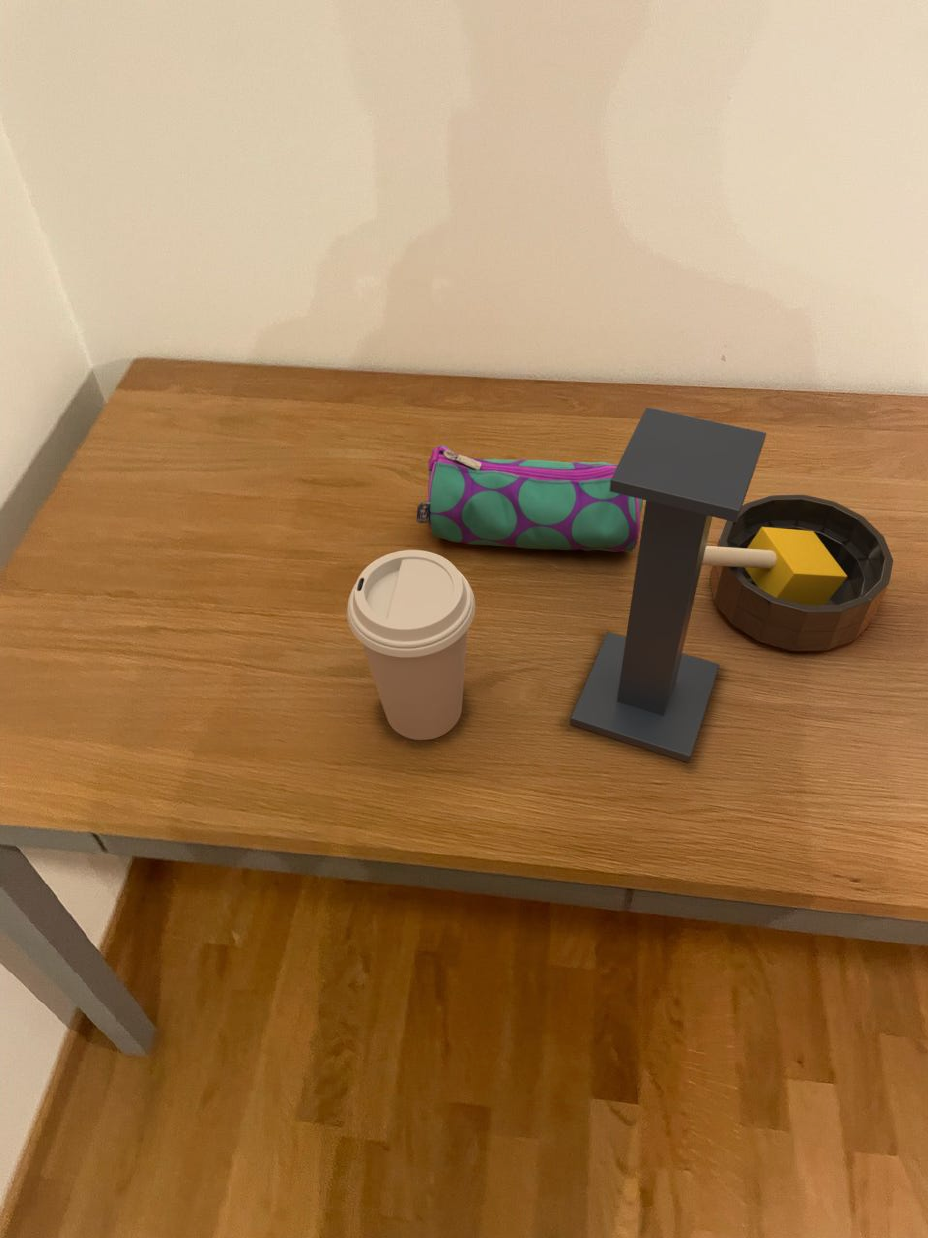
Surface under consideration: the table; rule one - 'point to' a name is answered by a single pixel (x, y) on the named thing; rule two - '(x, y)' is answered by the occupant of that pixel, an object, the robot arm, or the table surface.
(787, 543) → the sponge wand
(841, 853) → the table surface
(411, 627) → the coffee cup
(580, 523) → the pencil case
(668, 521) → the stand
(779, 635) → the bowl
